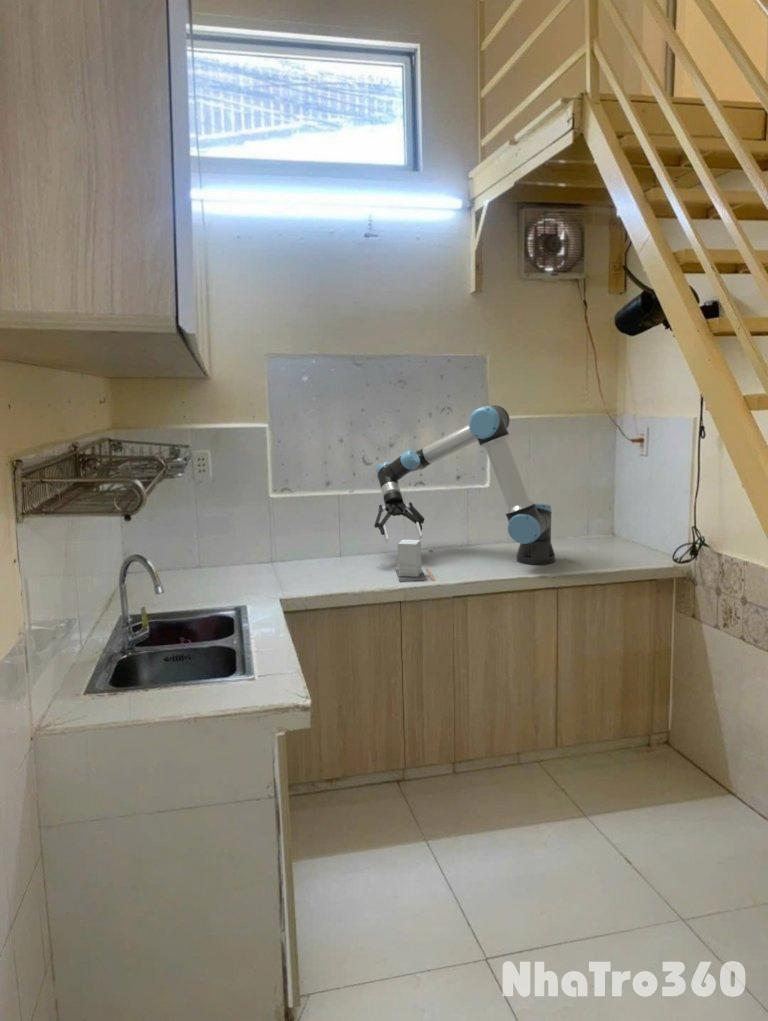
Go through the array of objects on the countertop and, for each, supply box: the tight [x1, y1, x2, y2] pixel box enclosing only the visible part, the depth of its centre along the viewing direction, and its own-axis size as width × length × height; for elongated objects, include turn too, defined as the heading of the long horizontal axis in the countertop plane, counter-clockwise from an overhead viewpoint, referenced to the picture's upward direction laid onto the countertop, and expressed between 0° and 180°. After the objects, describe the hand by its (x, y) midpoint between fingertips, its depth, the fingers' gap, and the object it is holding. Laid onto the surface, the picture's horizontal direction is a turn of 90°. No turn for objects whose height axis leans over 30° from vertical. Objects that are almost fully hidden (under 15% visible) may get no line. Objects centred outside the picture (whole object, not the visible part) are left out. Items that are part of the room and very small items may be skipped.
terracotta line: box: [426, 567, 436, 581], centre depth 259 cm, size 1×16×1 cm, turn 4°
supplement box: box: [397, 539, 423, 577], centre depth 257 cm, size 7×7×13 cm
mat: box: [395, 568, 428, 582], centre depth 258 cm, size 10×16×1 cm, turn 4°
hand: (404, 539), depth 267 cm, fingers open, 13 cm apart
